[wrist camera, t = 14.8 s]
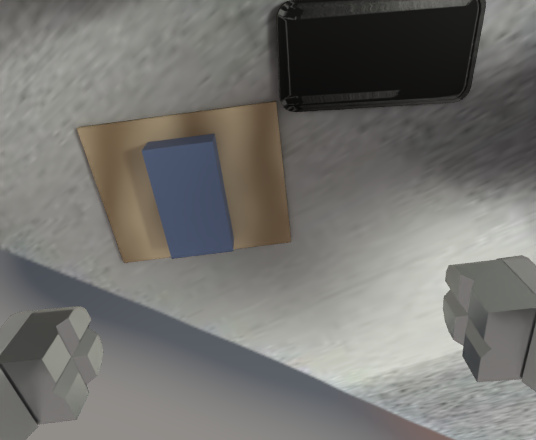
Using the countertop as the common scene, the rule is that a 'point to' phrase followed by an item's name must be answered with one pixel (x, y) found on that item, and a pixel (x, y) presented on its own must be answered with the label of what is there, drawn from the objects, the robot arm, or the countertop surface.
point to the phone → (376, 52)
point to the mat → (232, 166)
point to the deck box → (190, 195)
